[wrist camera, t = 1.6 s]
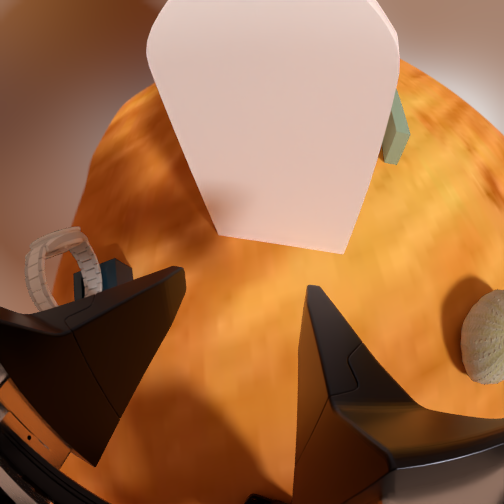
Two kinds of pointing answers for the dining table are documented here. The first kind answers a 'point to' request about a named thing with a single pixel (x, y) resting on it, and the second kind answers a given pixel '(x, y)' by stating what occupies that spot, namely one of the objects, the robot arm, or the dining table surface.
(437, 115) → the dining table surface
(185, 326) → the dining table surface
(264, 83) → the milk
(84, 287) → the watch
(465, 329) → the sea urchin shell
